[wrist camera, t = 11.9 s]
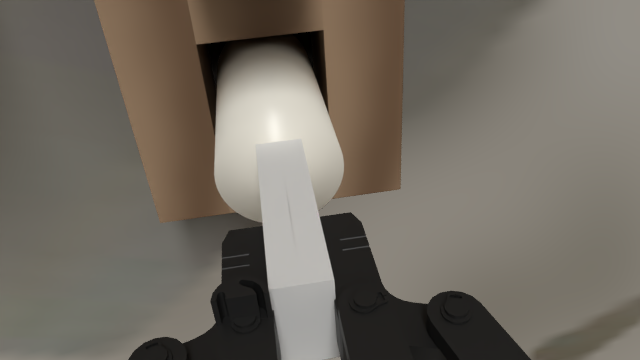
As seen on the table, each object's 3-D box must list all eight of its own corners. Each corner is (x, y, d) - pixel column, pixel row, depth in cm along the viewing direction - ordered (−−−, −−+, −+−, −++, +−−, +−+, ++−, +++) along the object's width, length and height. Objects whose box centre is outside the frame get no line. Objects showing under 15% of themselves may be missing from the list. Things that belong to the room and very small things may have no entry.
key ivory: (225, 117, 27) (225, 231, 19) (209, 30, 24) (202, 123, 17) (313, 106, 27) (346, 214, 20) (306, 20, 25) (341, 105, 17)
